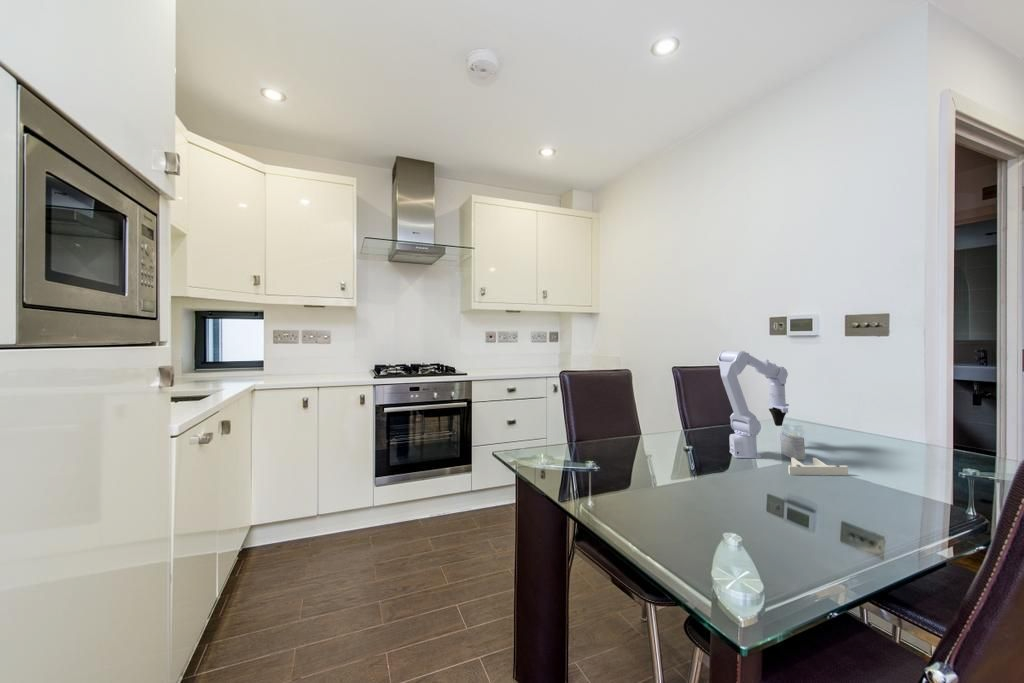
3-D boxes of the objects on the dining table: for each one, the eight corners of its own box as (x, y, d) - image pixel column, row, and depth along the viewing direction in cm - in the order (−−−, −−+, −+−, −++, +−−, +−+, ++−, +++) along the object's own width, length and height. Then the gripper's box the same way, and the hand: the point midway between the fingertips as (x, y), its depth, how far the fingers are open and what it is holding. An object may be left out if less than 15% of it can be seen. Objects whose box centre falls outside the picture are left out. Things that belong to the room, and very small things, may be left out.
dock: (790, 474, 141) (789, 465, 141) (776, 464, 151) (776, 455, 151) (848, 475, 137) (848, 466, 137) (830, 464, 148) (830, 455, 147)
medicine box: (805, 459, 154) (804, 437, 153) (794, 460, 154) (793, 438, 153) (791, 453, 161) (790, 432, 161) (780, 453, 162) (779, 433, 161)
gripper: (795, 397, 160) (797, 430, 161) (779, 390, 174) (781, 421, 175) (776, 397, 162) (778, 430, 162) (762, 391, 176) (763, 421, 177)
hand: (778, 425), depth 169 cm, fingers closed
